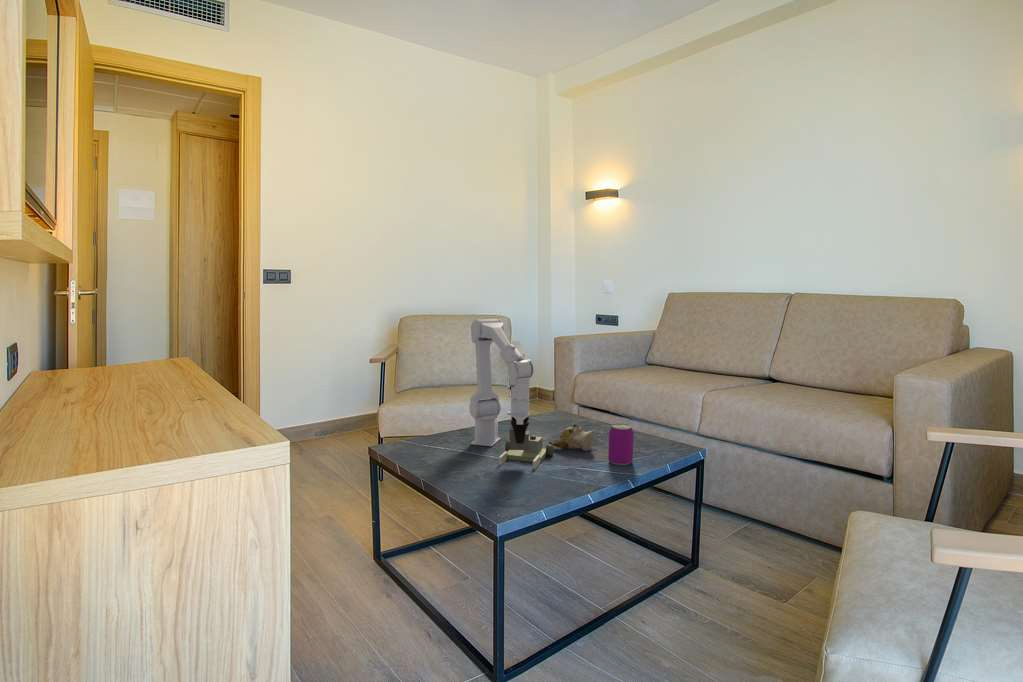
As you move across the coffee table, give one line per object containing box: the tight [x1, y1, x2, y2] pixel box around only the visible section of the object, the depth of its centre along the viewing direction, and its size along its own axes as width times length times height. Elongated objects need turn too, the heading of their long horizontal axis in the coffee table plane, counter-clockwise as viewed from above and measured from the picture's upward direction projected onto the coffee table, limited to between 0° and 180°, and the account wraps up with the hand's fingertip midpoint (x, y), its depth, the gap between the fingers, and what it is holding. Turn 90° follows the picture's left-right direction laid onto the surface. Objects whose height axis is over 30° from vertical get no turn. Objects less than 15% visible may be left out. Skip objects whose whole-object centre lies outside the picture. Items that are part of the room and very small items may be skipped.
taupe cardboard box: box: [509, 425, 530, 450], centre depth 179 cm, size 4×6×6 cm, turn 89°
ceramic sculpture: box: [548, 424, 596, 452], centre depth 195 cm, size 11×9×15 cm
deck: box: [498, 434, 555, 470], centre depth 184 cm, size 16×16×6 cm
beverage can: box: [607, 422, 635, 466], centre depth 181 cm, size 8×8×12 cm
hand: (519, 440), depth 179 cm, fingers closed on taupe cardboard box, 4 cm apart
